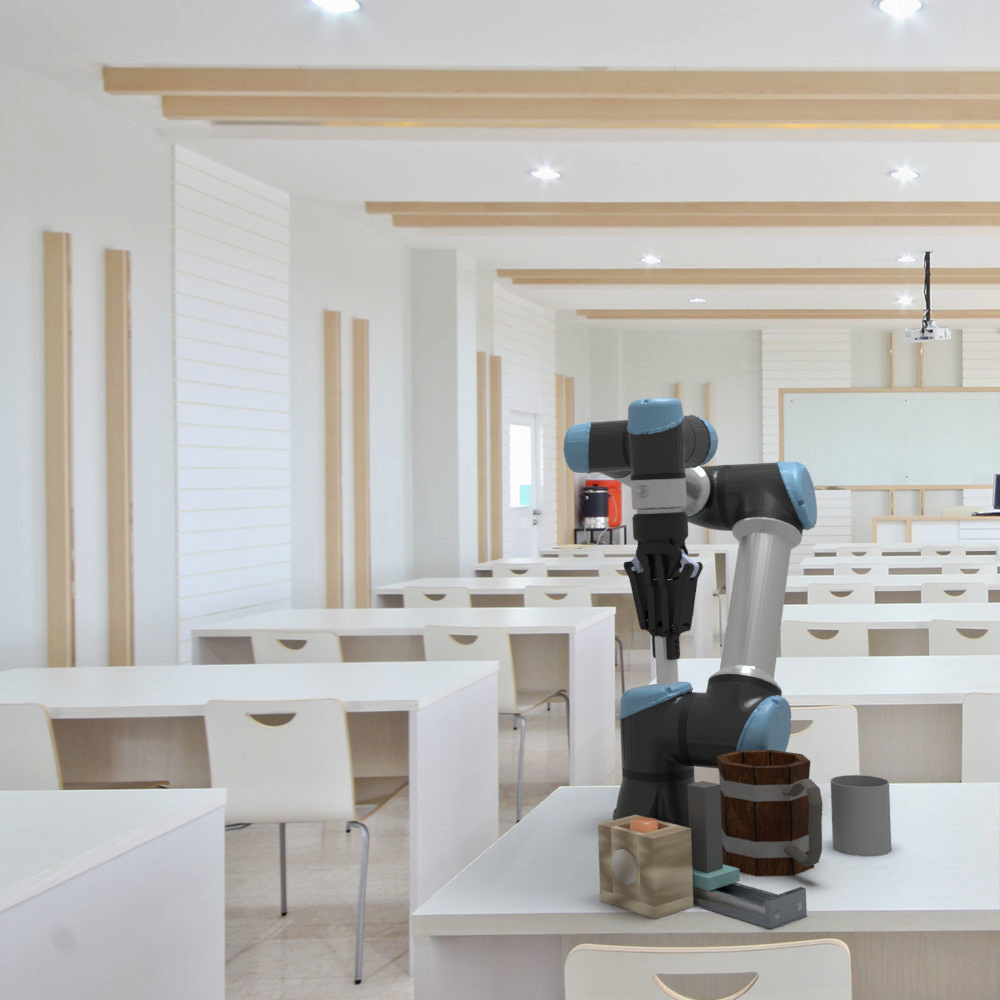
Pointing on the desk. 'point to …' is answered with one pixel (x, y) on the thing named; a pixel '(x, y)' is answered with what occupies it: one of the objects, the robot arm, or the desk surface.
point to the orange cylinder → (643, 824)
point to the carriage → (707, 838)
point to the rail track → (753, 904)
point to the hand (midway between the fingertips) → (667, 682)
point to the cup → (861, 815)
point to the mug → (769, 813)
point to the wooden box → (645, 867)
